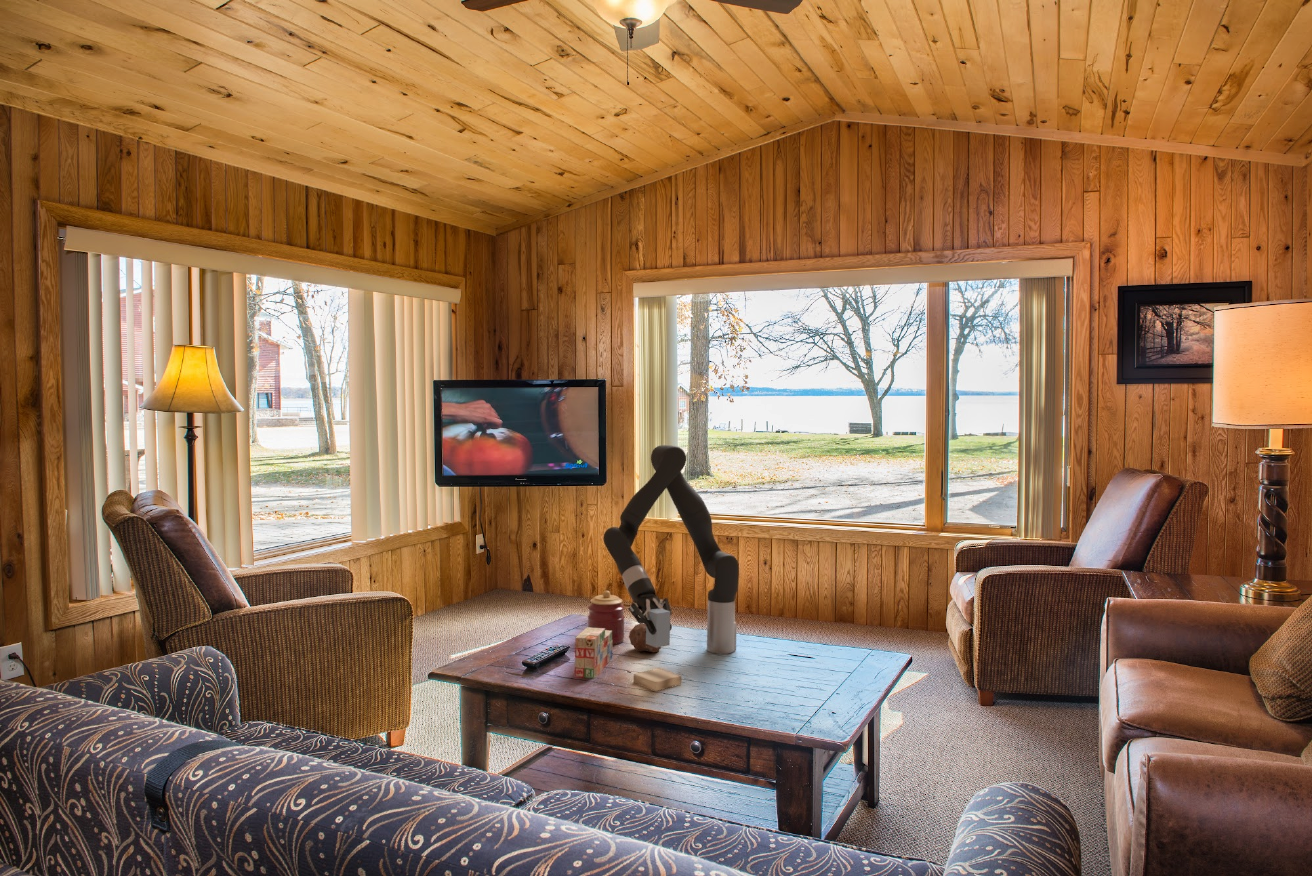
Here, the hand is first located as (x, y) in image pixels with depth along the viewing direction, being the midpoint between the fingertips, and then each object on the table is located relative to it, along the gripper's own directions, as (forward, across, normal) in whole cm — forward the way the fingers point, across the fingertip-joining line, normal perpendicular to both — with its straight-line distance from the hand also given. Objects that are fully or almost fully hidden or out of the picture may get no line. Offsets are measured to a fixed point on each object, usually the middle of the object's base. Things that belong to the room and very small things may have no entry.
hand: (662, 631), depth 245 cm
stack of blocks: (-6, -7, +29) cm, 31 cm away
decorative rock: (-10, +18, +33) cm, 39 cm away
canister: (-23, +14, +46) cm, 53 cm away
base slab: (+10, 0, +13) cm, 16 cm away
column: (+2, 0, +4) cm, 5 cm away
